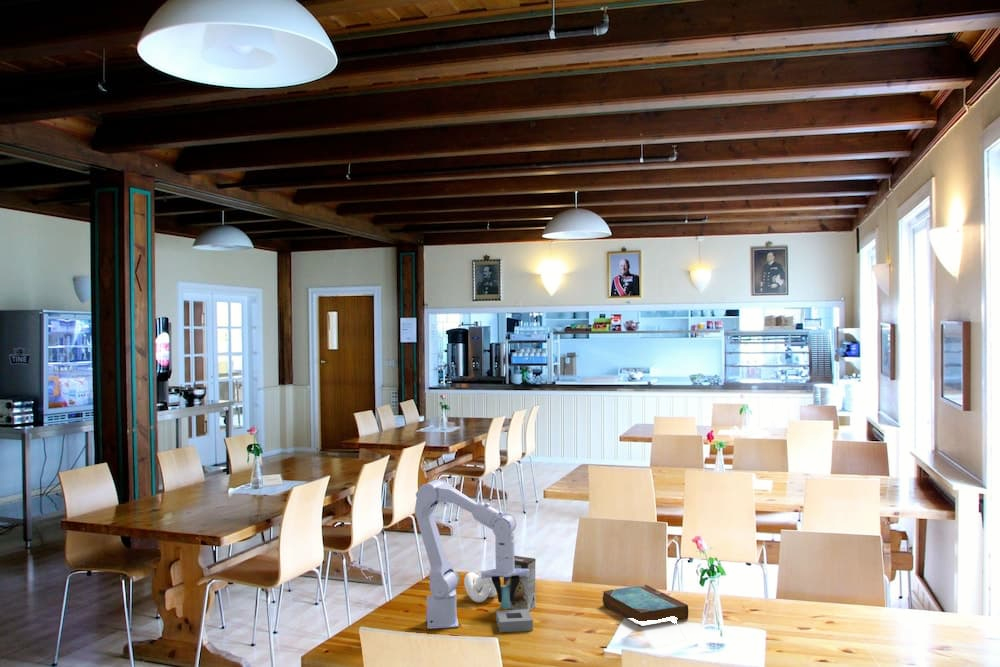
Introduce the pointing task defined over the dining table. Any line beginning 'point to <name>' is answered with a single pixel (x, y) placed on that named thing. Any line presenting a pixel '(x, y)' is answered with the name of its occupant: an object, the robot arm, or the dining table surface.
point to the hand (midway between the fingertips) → (505, 601)
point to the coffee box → (524, 585)
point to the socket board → (514, 620)
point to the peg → (505, 597)
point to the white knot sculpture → (479, 587)
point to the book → (644, 603)
